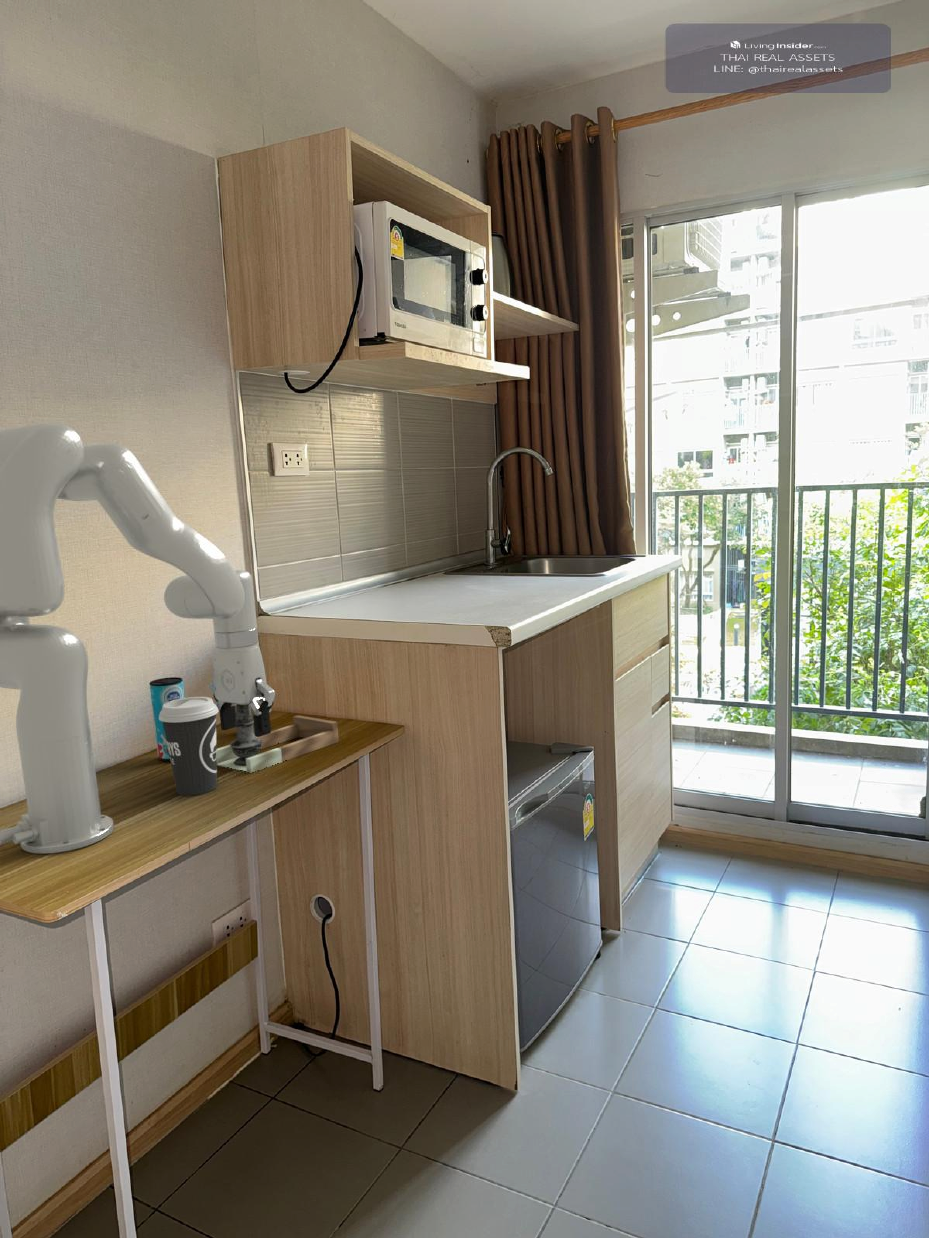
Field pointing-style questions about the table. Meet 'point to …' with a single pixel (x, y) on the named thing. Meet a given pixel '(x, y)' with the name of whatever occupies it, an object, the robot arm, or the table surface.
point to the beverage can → (160, 695)
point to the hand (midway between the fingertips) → (246, 731)
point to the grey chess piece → (244, 736)
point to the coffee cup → (191, 743)
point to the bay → (309, 728)
